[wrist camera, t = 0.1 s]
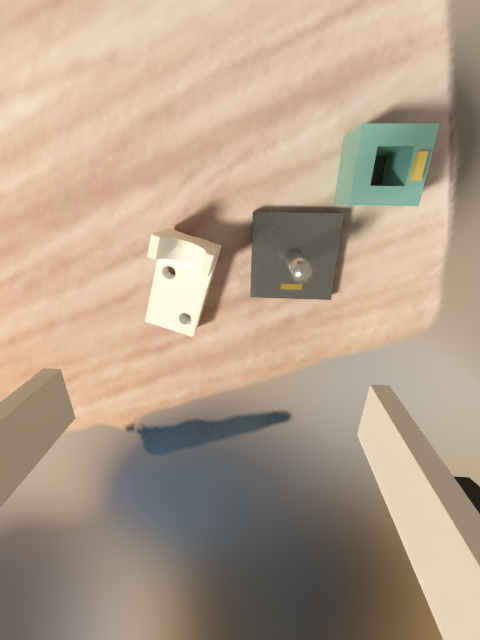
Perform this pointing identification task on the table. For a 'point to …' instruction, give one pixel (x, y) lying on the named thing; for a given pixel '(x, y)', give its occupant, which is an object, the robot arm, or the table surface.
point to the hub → (400, 168)
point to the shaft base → (298, 237)
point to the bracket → (180, 279)
